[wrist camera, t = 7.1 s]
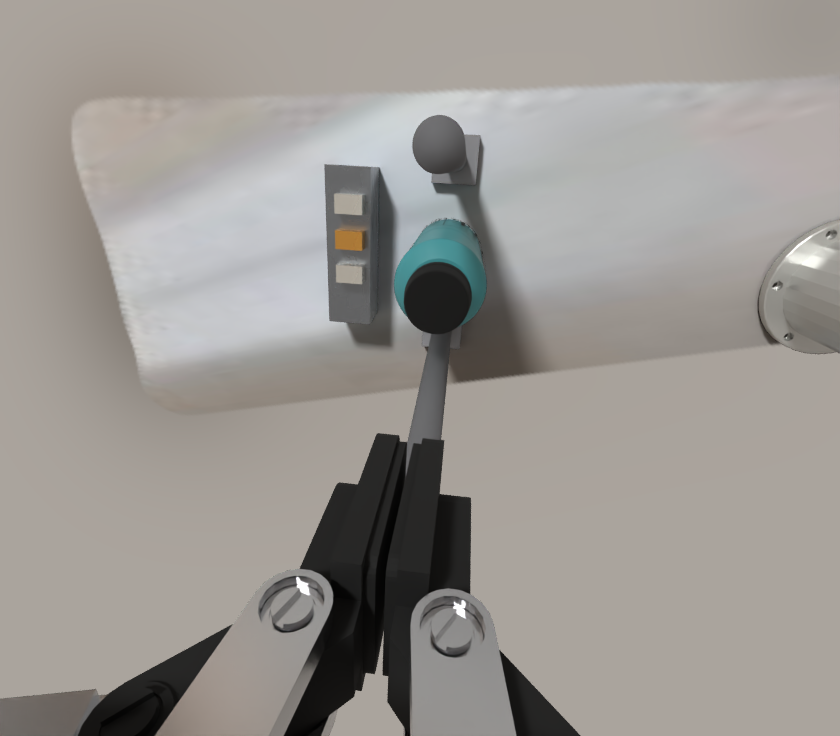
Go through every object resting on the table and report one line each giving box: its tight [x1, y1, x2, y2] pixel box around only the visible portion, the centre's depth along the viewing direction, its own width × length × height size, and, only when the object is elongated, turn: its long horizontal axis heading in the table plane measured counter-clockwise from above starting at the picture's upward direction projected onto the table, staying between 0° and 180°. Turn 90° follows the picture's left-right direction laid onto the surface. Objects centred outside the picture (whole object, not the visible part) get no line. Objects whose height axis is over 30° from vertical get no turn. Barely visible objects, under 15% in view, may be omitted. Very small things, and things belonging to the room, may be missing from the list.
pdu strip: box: [325, 165, 379, 324], centre depth 42 cm, size 4×14×5 cm, turn 177°
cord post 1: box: [413, 115, 480, 185], centre depth 29 cm, size 4×4×26 cm
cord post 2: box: [406, 325, 462, 474], centre depth 35 cm, size 4×4×26 cm
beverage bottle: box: [394, 218, 487, 334], centre depth 35 cm, size 6×7×20 cm
